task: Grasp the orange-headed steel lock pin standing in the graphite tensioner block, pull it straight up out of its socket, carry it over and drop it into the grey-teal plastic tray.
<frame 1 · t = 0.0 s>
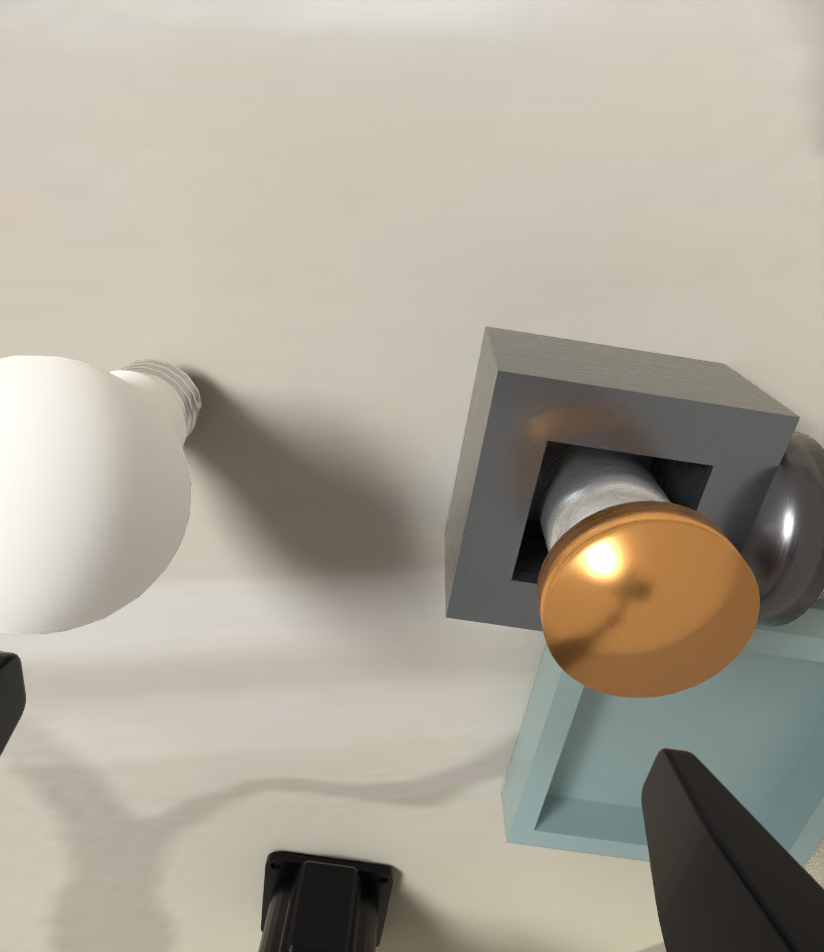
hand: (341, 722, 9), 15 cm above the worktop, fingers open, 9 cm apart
light bulb: (169, 391, 23), on the worktop
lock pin: (580, 467, 22), point 1 cm above the worktop, touching tensioner block
tray: (680, 711, 28), on the worktop
tensioner block: (574, 455, 23), on the worktop
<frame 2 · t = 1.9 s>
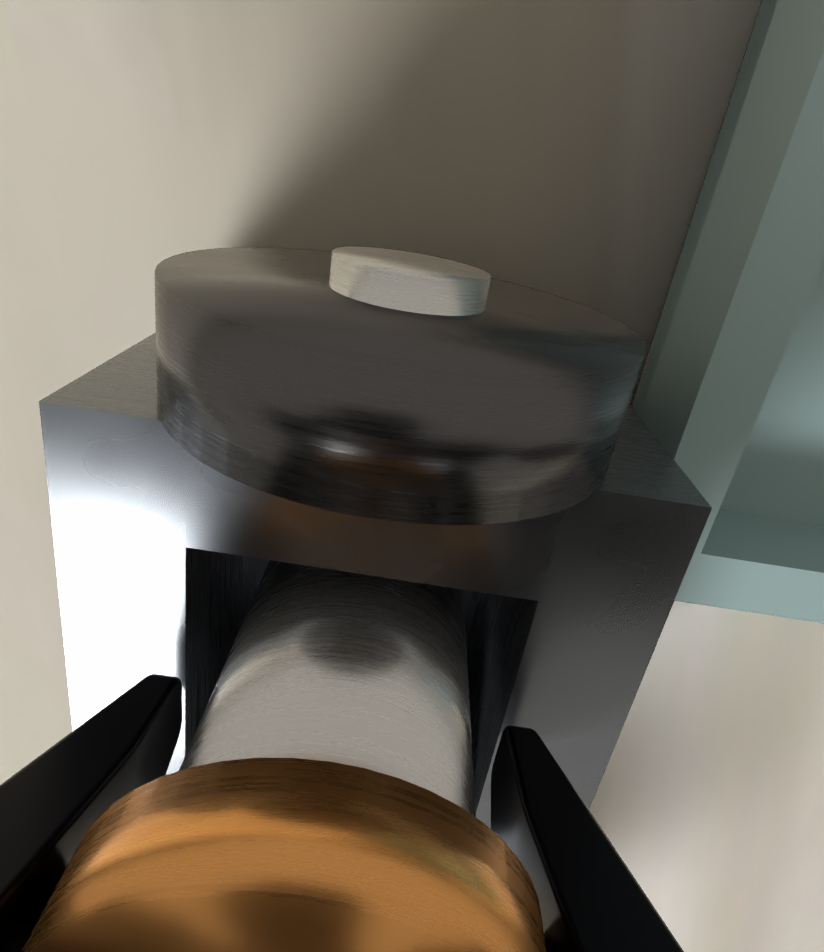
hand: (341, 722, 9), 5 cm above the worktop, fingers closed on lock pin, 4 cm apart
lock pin: (371, 555, 13), point 1 cm above the worktop, touching gripper, tensioner block
tensioner block: (375, 529, 14), on the worktop
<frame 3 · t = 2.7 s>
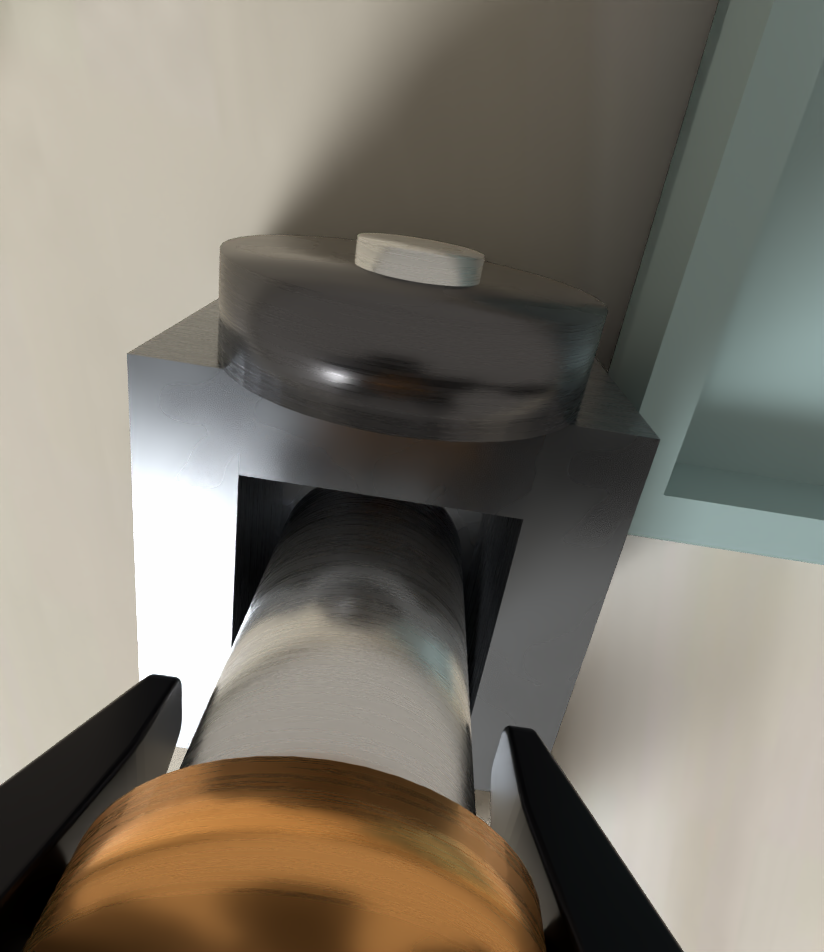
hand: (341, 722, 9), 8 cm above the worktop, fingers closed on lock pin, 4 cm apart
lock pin: (371, 554, 13), point 3 cm above the worktop, touching gripper
tensioner block: (386, 484, 16), on the worktop
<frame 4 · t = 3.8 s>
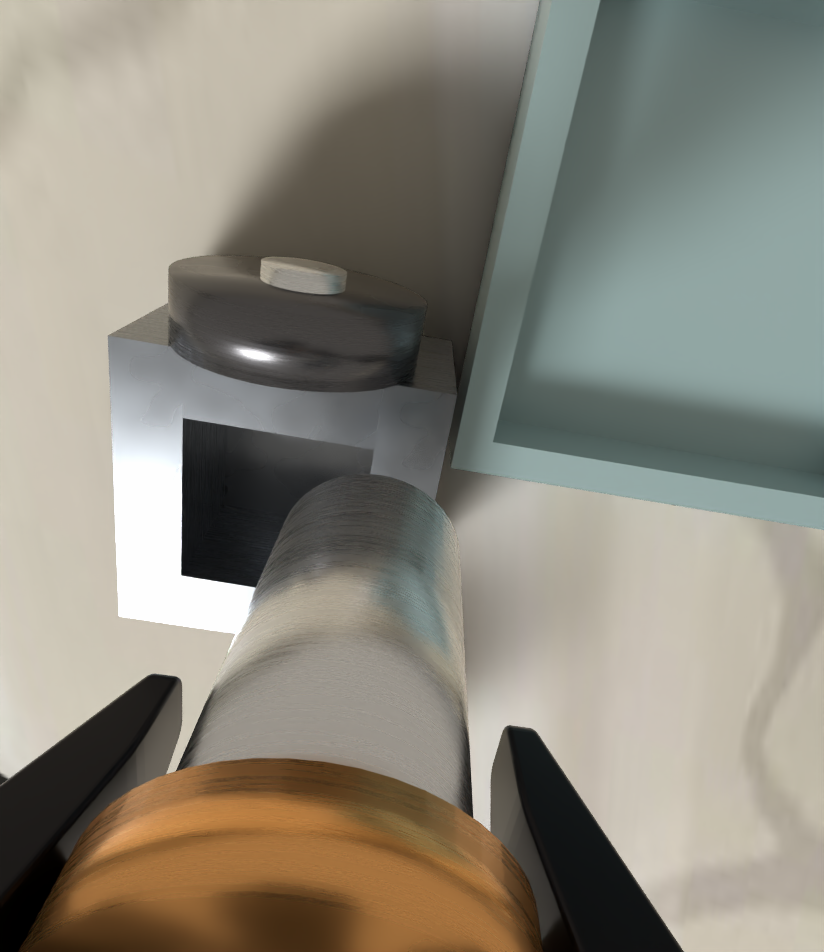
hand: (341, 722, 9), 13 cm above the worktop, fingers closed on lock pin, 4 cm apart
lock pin: (369, 555, 13), point 8 cm above the worktop, touching gripper
tray: (719, 262, 18), on the worktop
tensioner block: (306, 439, 21), on the worktop
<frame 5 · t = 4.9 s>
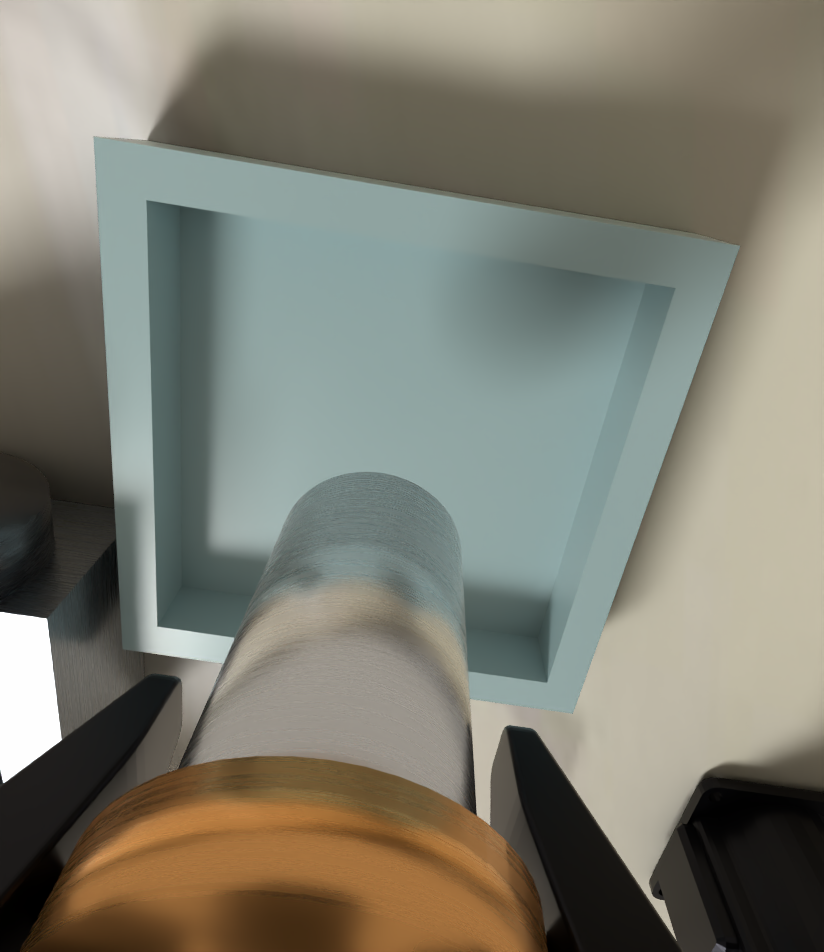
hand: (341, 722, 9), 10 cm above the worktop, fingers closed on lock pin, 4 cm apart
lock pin: (370, 553, 13), point 6 cm above the worktop, touching gripper
tray: (387, 441, 18), on the worktop
tensioner block: (17, 600, 21), on the worktop
when the fingers open (7 cm above the worktop, at t = 5.6 s): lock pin drops 2 cm, resting on tray.
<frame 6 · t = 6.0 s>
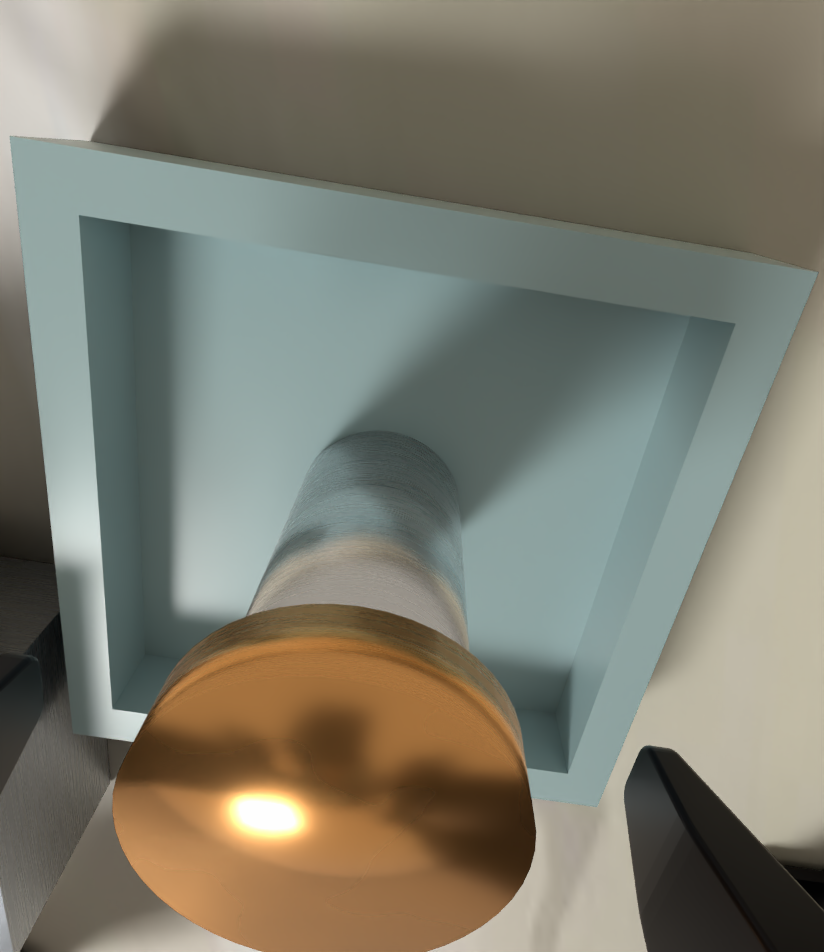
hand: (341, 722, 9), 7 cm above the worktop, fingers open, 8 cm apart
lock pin: (380, 504, 15), point 1 cm above the worktop, touching tray
tray: (381, 492, 15), on the worktop
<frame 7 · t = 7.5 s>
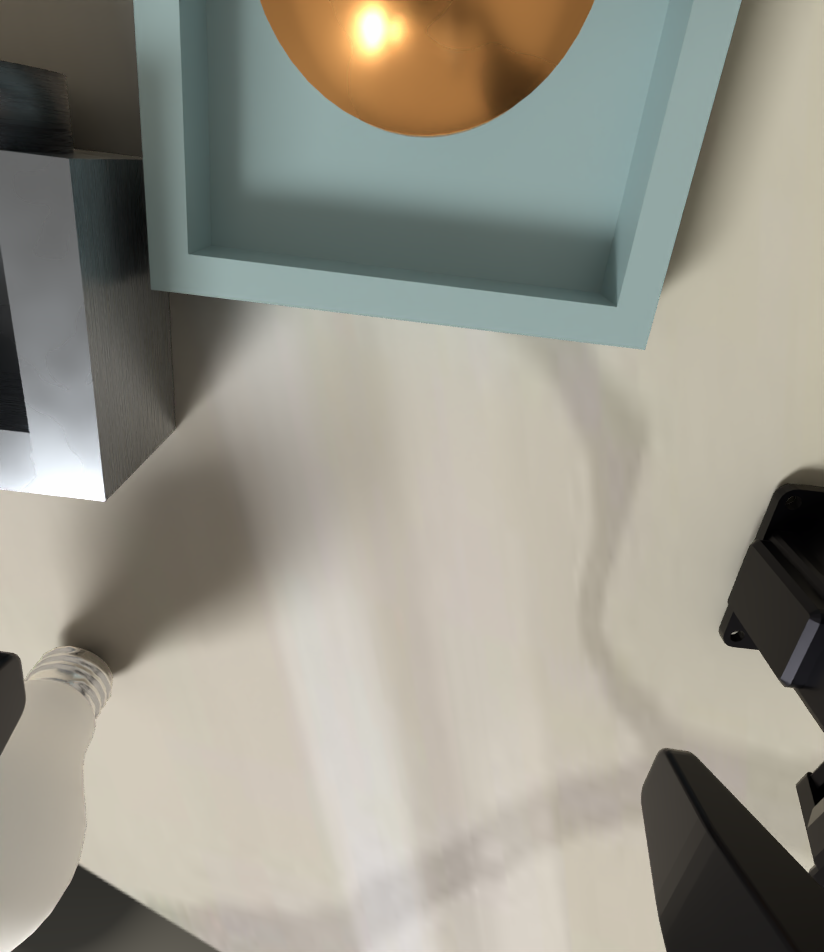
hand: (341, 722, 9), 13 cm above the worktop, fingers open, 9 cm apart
light bulb: (89, 658, 26), on the worktop
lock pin: (432, 36, 16), point 1 cm above the worktop, touching tray
tray: (431, 41, 16), on the worktop
tensioner block: (35, 290, 19), on the worktop
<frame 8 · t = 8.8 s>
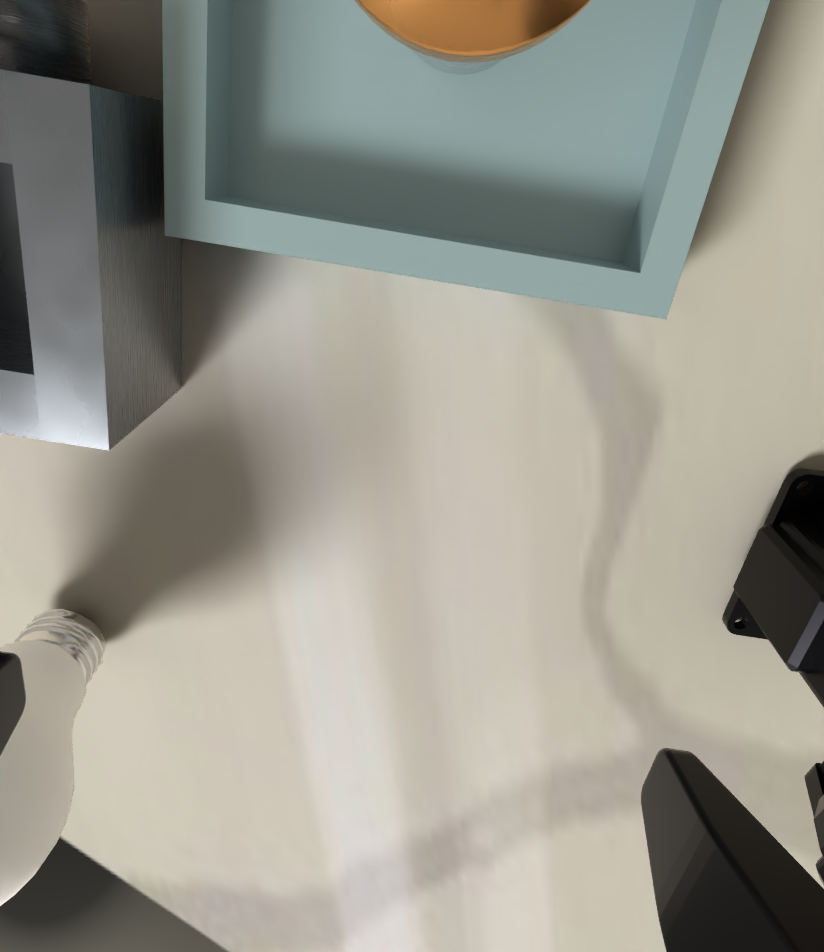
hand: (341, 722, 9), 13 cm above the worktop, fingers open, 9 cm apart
light bulb: (81, 623, 25), on the worktop
tensioner block: (44, 237, 19), on the worktop
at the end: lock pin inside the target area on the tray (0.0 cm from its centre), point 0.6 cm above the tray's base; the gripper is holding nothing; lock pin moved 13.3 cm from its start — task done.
